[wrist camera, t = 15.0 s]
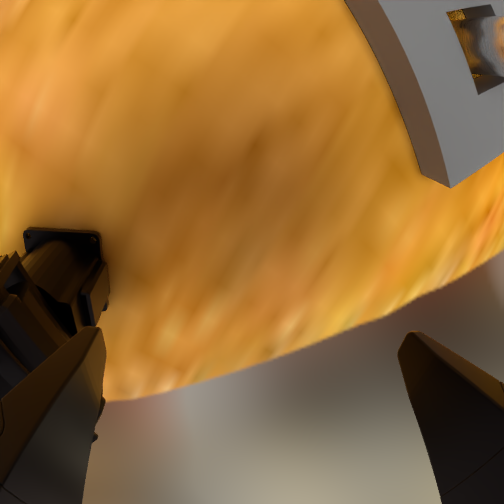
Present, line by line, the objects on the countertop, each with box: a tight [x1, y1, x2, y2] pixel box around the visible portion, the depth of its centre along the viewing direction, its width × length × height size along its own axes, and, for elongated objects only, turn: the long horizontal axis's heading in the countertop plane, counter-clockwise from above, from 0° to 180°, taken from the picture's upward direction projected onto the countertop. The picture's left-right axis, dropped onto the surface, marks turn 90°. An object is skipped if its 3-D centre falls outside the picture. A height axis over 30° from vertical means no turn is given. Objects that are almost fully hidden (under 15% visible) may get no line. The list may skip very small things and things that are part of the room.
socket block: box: [344, 0, 504, 188], centre depth 14 cm, size 16×16×4 cm
